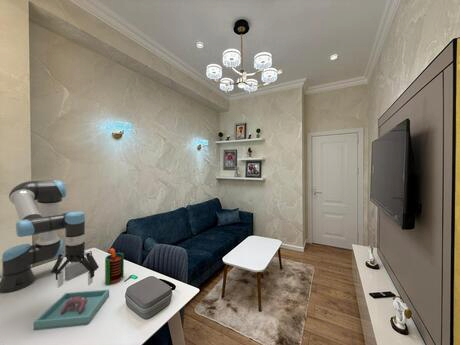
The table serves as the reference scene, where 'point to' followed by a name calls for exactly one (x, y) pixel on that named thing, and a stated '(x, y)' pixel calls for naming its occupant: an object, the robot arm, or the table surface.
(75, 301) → the video game controller
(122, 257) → the motor
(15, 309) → the table surface
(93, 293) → the tray
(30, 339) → the table surface
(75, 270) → the cassette player
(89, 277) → the robot arm
